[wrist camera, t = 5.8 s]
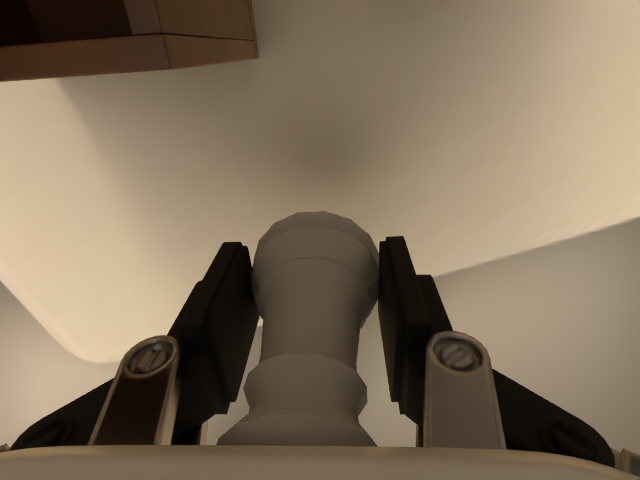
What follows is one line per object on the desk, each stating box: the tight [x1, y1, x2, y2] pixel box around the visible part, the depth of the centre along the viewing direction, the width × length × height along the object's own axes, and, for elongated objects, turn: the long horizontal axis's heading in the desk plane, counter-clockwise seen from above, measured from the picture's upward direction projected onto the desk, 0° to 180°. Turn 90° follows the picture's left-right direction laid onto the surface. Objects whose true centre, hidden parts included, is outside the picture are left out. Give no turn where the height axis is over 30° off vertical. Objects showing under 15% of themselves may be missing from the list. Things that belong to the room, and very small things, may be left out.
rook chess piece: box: [217, 211, 380, 447], centre depth 9 cm, size 4×4×8 cm
